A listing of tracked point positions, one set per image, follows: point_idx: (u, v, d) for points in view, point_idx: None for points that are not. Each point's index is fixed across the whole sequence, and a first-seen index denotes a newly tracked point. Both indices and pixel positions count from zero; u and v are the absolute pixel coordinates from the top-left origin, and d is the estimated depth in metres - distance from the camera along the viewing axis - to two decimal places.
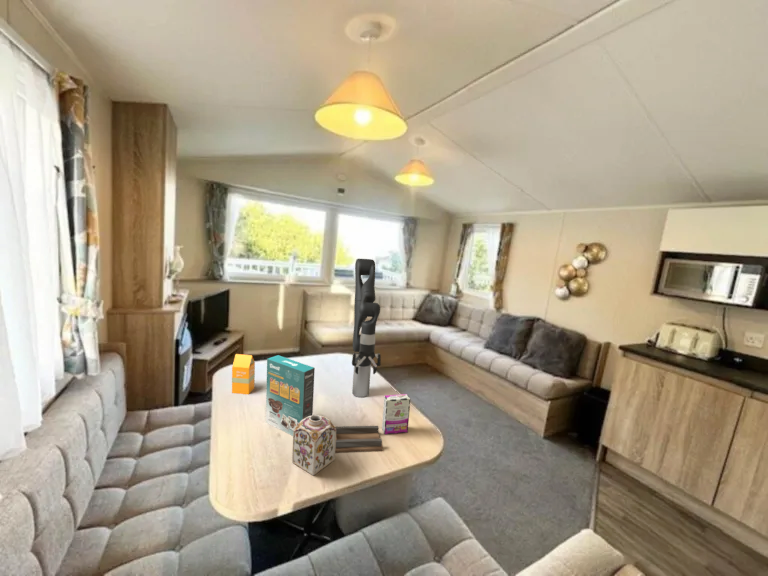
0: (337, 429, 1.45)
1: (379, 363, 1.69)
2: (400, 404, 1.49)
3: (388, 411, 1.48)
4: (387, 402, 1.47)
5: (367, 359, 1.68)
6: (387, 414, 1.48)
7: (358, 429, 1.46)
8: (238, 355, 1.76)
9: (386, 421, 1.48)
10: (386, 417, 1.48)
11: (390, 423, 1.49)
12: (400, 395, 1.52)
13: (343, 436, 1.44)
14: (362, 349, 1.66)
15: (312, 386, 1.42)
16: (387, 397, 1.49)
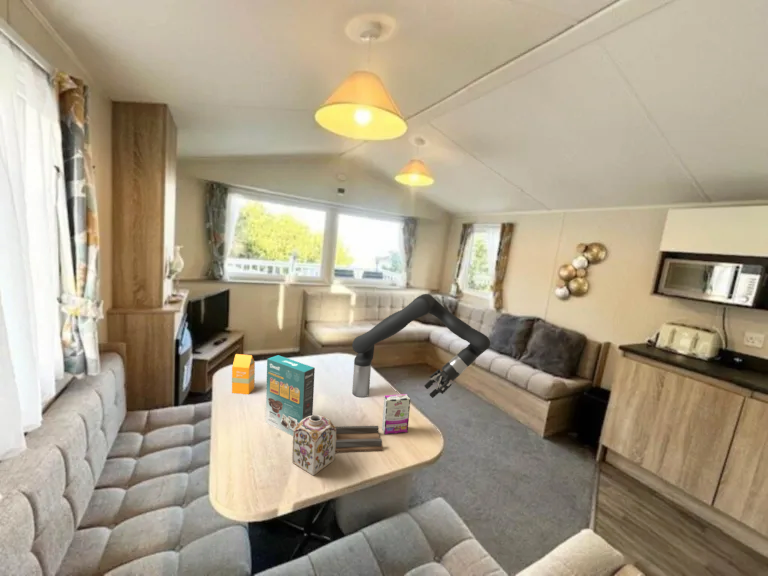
0: (337, 429, 1.45)
1: None
2: (400, 404, 1.49)
3: (388, 411, 1.48)
4: (387, 402, 1.47)
5: None
6: (387, 414, 1.48)
7: (358, 429, 1.46)
8: (238, 355, 1.76)
9: (386, 421, 1.48)
10: (386, 417, 1.48)
11: (390, 423, 1.49)
12: (400, 395, 1.52)
13: (343, 436, 1.44)
14: (455, 378, 1.50)
15: (312, 386, 1.42)
16: (387, 397, 1.49)
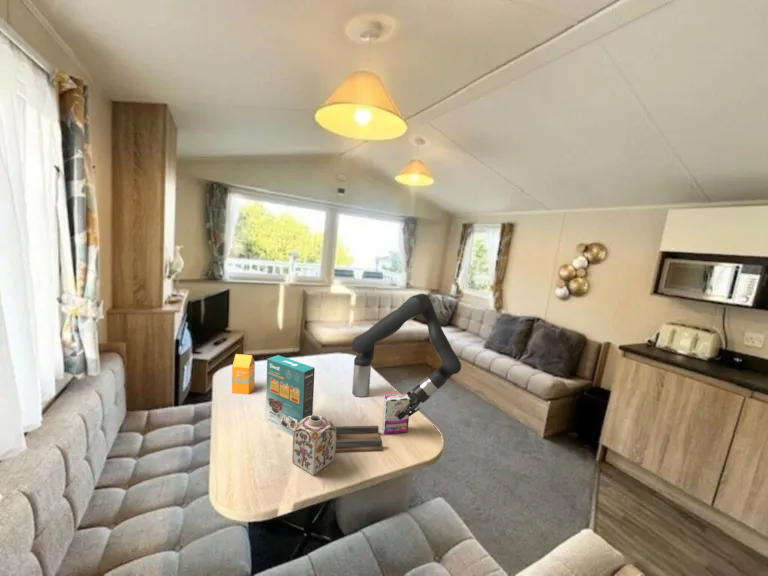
0: (337, 429, 1.45)
1: None
2: (400, 404, 1.48)
3: (388, 411, 1.47)
4: (387, 402, 1.47)
5: None
6: (387, 414, 1.48)
7: (358, 429, 1.46)
8: (238, 355, 1.76)
9: (386, 421, 1.48)
10: (386, 417, 1.48)
11: (390, 423, 1.49)
12: (400, 395, 1.51)
13: (343, 436, 1.44)
14: (425, 400, 1.50)
15: (312, 386, 1.42)
16: (387, 397, 1.49)
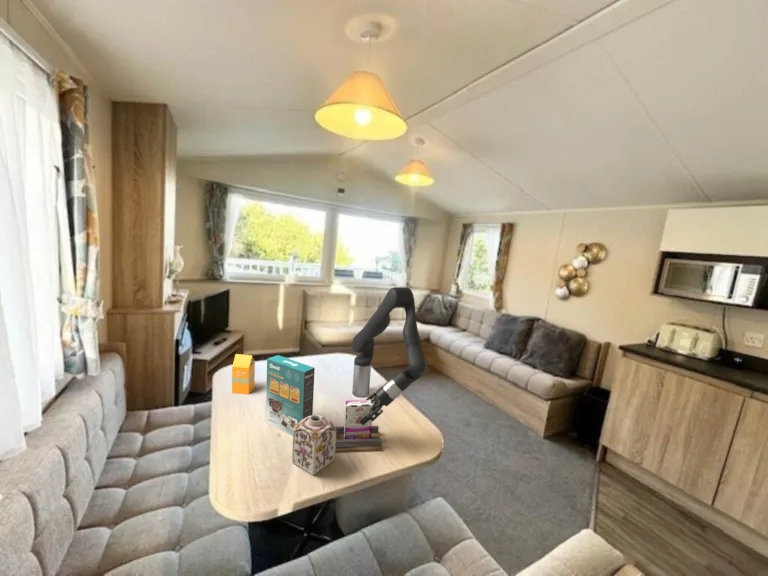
0: (337, 429, 1.45)
1: None
2: (361, 411, 1.39)
3: (348, 417, 1.38)
4: (347, 408, 1.37)
5: None
6: (347, 421, 1.38)
7: None
8: (238, 355, 1.76)
9: (346, 428, 1.39)
10: (346, 424, 1.38)
11: (351, 430, 1.39)
12: (363, 401, 1.42)
13: (343, 436, 1.44)
14: None
15: (312, 386, 1.42)
16: (348, 402, 1.40)
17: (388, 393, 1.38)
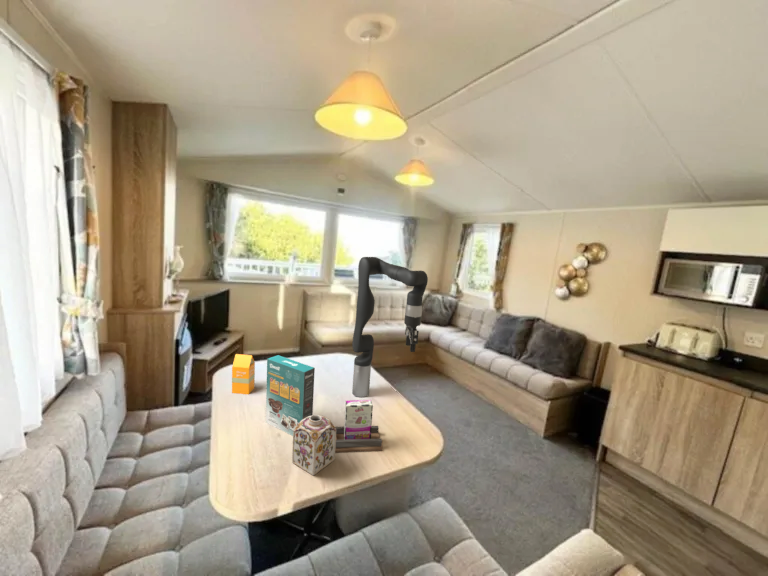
0: (337, 429, 1.45)
1: None
2: (361, 411, 1.39)
3: (348, 418, 1.38)
4: (347, 408, 1.37)
5: None
6: (347, 421, 1.38)
7: None
8: (238, 355, 1.76)
9: (346, 428, 1.39)
10: (346, 424, 1.38)
11: (351, 431, 1.39)
12: (363, 401, 1.42)
13: (343, 436, 1.44)
14: (419, 322, 1.52)
15: (312, 386, 1.42)
16: (348, 402, 1.40)
17: (411, 316, 1.50)
